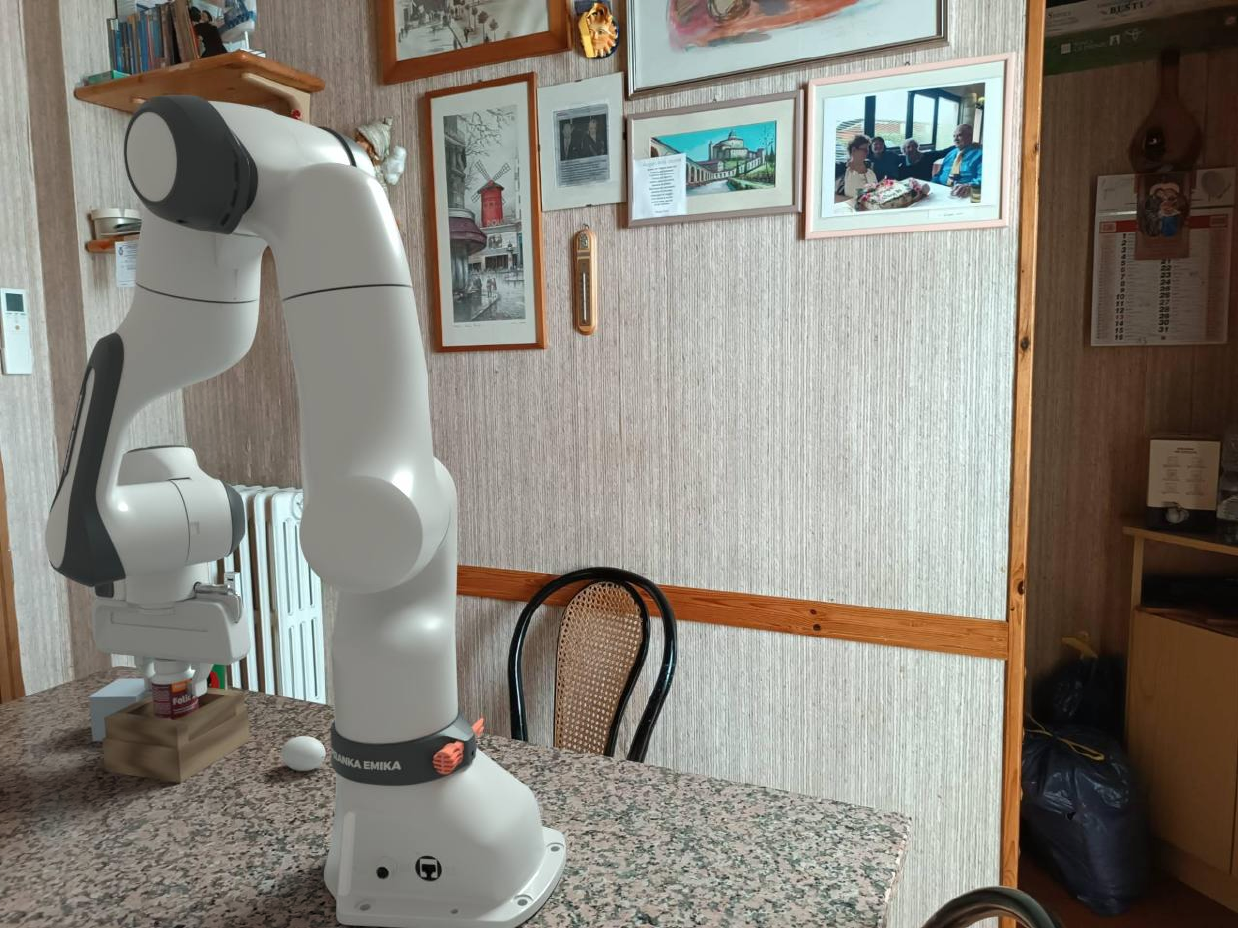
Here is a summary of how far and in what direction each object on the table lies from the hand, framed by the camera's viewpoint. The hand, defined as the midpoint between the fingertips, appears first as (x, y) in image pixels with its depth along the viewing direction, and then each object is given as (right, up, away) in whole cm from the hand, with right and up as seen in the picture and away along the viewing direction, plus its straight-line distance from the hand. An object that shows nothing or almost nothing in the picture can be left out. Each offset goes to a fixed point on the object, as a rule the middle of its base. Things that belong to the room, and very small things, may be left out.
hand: (176, 692), depth 97 cm
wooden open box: (0, -8, +1) cm, 8 cm away
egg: (+17, -9, -3) cm, 19 cm away
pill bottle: (0, -4, 0) cm, 4 cm away
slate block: (-10, -7, +8) cm, 15 cm away
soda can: (-1, -7, +10) cm, 13 cm away
